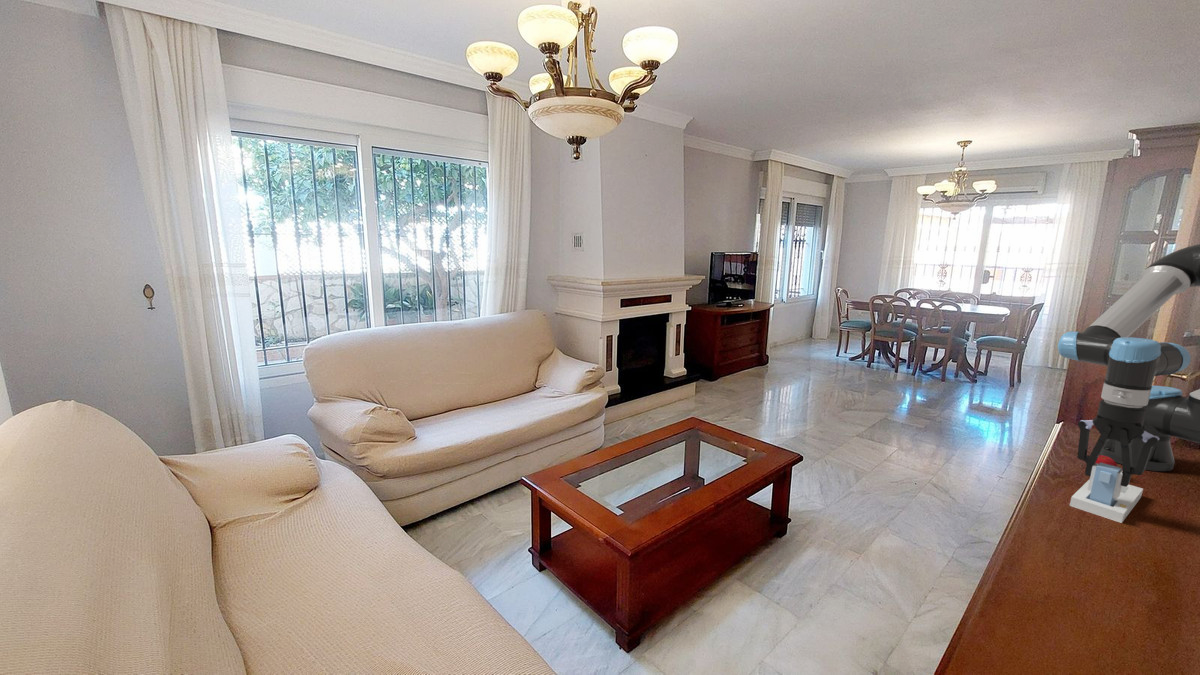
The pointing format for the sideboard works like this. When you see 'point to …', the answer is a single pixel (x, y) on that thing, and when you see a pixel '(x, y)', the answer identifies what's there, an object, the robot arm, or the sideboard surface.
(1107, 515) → the panel
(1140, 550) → the sideboard surface
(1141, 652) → the sideboard surface
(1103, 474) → the plug
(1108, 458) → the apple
